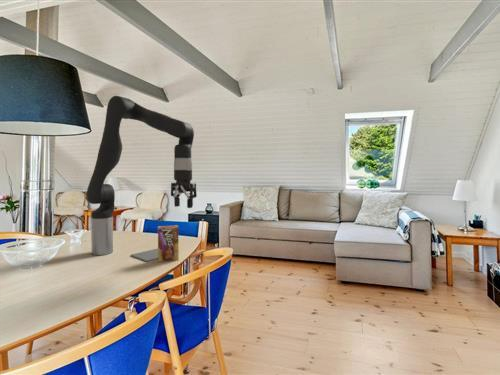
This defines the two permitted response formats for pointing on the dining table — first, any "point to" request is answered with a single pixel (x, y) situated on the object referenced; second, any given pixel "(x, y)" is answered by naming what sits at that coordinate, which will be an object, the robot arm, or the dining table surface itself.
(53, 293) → the dining table surface
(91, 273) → the dining table surface
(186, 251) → the dining table surface
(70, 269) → the dining table surface
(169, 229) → the candy box
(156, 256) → the rubber mat
